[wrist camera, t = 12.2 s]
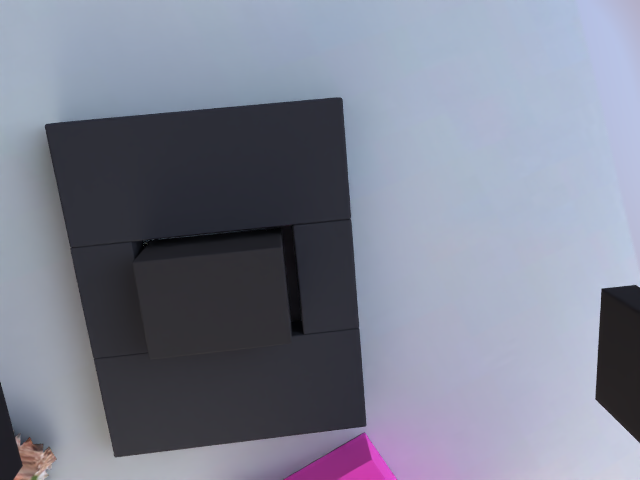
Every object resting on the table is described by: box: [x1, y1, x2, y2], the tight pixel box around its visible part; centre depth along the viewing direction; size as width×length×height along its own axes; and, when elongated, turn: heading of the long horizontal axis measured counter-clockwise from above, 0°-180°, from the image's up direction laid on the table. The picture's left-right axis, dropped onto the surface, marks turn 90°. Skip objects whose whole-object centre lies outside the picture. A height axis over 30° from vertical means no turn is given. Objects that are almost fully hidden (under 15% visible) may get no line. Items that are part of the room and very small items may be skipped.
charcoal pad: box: [45, 98, 366, 457], centre depth 29 cm, size 18×14×2 cm
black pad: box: [132, 228, 292, 359], centre depth 28 cm, size 5×7×4 cm
